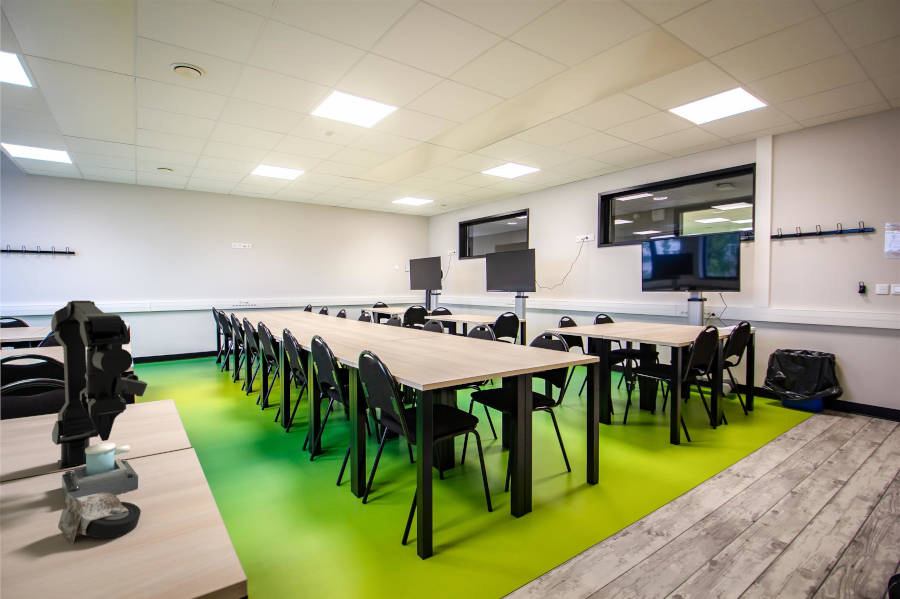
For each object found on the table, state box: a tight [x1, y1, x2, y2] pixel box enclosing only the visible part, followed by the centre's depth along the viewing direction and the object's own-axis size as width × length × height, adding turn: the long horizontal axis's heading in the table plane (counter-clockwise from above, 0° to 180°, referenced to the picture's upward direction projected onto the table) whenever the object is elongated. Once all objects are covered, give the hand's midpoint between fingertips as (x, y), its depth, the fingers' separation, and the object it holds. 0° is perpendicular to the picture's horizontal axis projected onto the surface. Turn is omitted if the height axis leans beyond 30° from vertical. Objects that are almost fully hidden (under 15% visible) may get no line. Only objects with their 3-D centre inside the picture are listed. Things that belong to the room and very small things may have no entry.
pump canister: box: [85, 442, 131, 477], centre depth 99 cm, size 5×8×7 cm
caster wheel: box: [57, 493, 142, 544], centre depth 81 cm, size 7×11×10 cm
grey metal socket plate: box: [61, 458, 139, 499], centre depth 98 cm, size 13×12×4 cm
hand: (101, 435), depth 99 cm, fingers open, 9 cm apart
